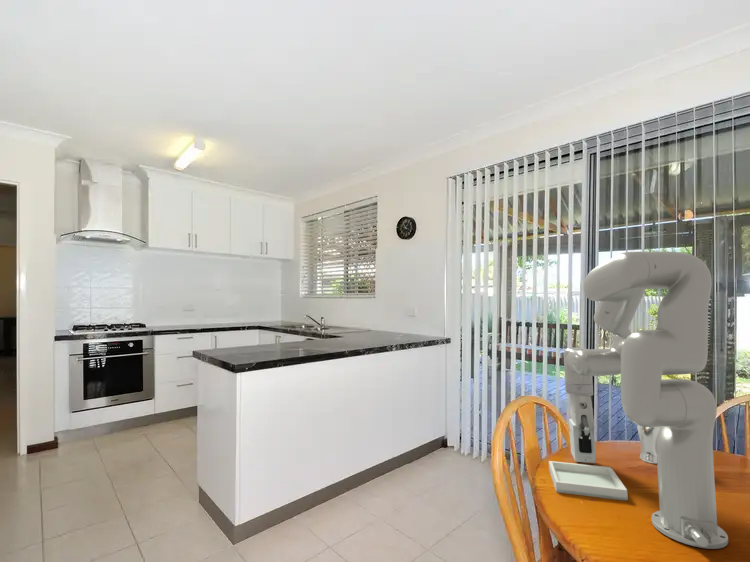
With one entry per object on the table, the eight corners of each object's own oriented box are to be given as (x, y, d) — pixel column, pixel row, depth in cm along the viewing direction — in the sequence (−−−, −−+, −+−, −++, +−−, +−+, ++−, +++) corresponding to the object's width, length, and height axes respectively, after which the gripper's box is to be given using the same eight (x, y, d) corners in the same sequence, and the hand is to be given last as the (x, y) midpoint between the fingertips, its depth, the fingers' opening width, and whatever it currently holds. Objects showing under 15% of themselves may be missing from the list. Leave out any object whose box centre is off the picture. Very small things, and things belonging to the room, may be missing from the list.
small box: (596, 464, 112) (594, 426, 113) (574, 462, 114) (572, 425, 115) (590, 454, 120) (588, 419, 121) (570, 452, 121) (568, 418, 122)
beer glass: (671, 464, 115) (669, 413, 116) (648, 465, 116) (645, 413, 116) (655, 455, 122) (652, 407, 123) (633, 455, 122) (630, 407, 123)
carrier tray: (627, 500, 95) (627, 490, 95) (556, 492, 99) (555, 482, 100) (611, 476, 108) (611, 467, 108) (549, 469, 113) (548, 460, 113)
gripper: (600, 395, 109) (604, 459, 108) (586, 384, 126) (589, 439, 124) (570, 393, 111) (574, 456, 110) (561, 383, 128) (563, 437, 126)
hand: (582, 447), depth 117 cm, fingers closed on small box, 8 cm apart
